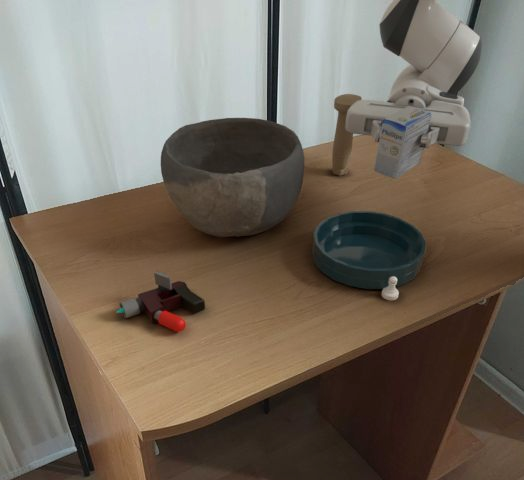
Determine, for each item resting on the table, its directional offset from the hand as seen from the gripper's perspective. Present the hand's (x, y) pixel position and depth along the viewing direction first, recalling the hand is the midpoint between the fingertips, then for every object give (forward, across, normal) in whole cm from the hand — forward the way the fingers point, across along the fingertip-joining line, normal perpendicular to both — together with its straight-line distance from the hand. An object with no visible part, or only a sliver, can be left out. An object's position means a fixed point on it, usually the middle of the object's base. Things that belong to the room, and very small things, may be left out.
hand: (402, 140), depth 85 cm
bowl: (+4, -27, +17) cm, 32 cm away
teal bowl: (+9, -2, +17) cm, 19 cm away
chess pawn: (+18, +3, +17) cm, 25 cm away
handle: (-22, -12, +17) cm, 30 cm away
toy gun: (+34, -28, +17) cm, 47 cm away
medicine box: (-1, 0, +5) cm, 5 cm away
